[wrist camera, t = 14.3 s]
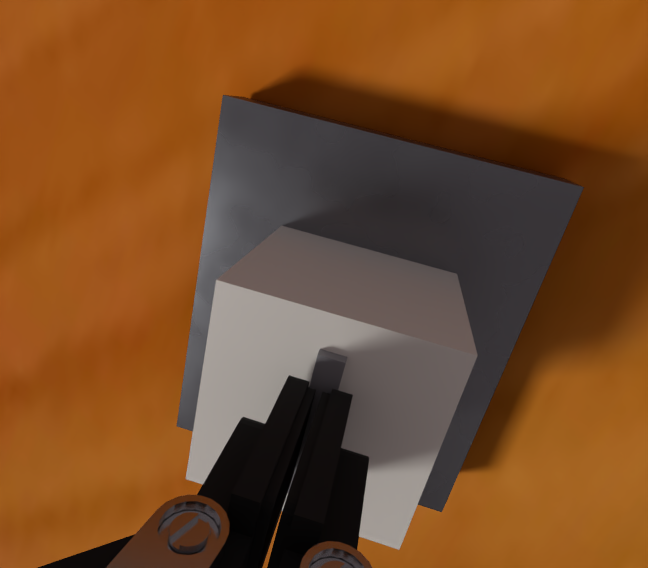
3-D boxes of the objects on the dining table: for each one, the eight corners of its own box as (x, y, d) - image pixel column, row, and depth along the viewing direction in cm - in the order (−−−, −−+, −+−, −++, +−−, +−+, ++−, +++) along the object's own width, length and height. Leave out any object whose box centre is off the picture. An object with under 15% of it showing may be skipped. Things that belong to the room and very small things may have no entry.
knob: (404, 420, 19) (398, 559, 13) (252, 374, 19) (181, 486, 14) (456, 273, 16) (479, 361, 11) (281, 225, 17) (211, 284, 11)
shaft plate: (439, 478, 22) (447, 603, 16) (196, 400, 23) (125, 492, 17) (565, 178, 17) (640, 211, 11) (243, 96, 18) (163, 89, 12)
